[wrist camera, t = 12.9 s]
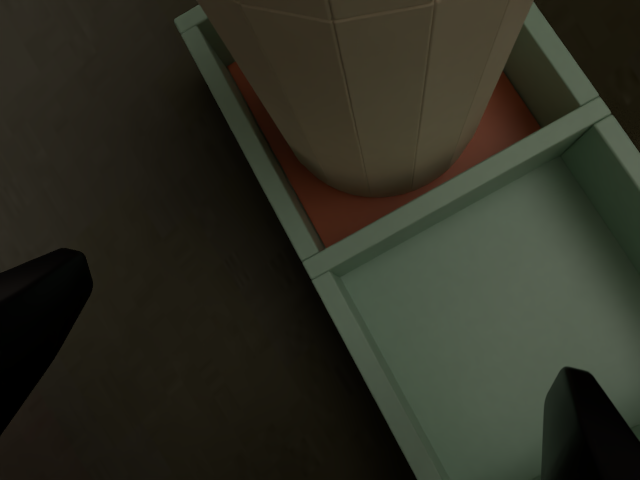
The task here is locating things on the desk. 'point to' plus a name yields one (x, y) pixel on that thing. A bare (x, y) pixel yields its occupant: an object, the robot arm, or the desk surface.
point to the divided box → (471, 260)
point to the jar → (372, 80)
